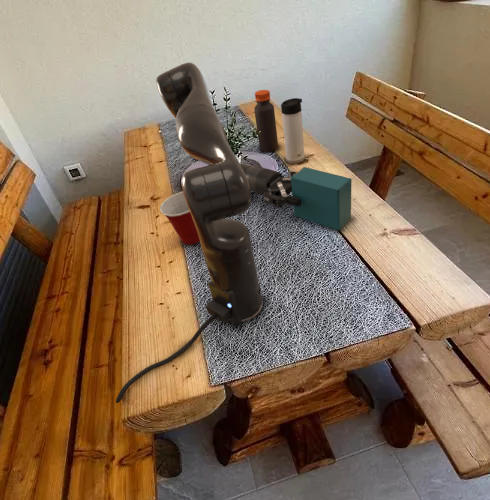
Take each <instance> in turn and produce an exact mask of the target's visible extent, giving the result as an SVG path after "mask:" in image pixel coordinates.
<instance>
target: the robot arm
mask: <svg viewBox="0 0 490 500" xmlns="http://www.w3.org/2000/svg"><path fill="white" fill-rule="evenodd" d="M155 81H156V82H155V83H156V88H157V89H158V93H159V95H160V97H161V100H162V101H163V103H164V105H165V106H166V108H167V109H168V111H170V114H171V115H172V116H173V118H175V129H176V134H177V137H178V141H179V144H180V146H181V148H182V149H183V150H184V152H185V153H187V154H188V156H190V157H192V158H194V159H195V160H197V161H199V162H201V163H203V164H205V165H204V166H201V167H197V168H196V167H195V168H193V169H189V170H187V171H185V172H184V173H183V175H182V178H181V187H182V192H183V193H184V197H185V200H186V203H187V206H188V208H189V211H190V213H191V216H192V219H193V221H194V224H195V227H196V230H197V233H198V236H199V240H200V241H199V244H200V247H201V250H202V253H203V257H204V260H205V264H206V267H207V270H208V274H209V277H210V280H209V281H208V282H207V285H208V289H209V291H210V292H209V293H210V294H211V298H212V299H211V301H209V302H208V303H207V304H206V305H205V308H206V311H207V314H209V315H210V316H209V317H208V318H207V320H205V322H203V323H202V324H201V326H200V327H199V328H198V329H197V330H196V332H195V333H194V335H193V336H192V338H191V339H190V340H188V342H187V343H186V344H185V345H183V346H182V347H181V348H180V349H179V350H177V351H176V352H174V353H173V354H171V355H170V356H168V357H167V358H164V359H162V360H160V361H157V362H155V363H152V364H151V365H148V366H147V367H145V368H144V369H142V370H141V371H139V372H137V373H136V374H135V375H134V376H133V377H131V378H130V379H129V380H128V381H127V382H126V383H125V384H124V385H123V386H122V388H121V389H120V391H119V392H118V394H117V396H116V399H115V403H116V404H119V403H121V402H122V400H123V397H124V395H125V393H126V392H127V390H128V389H130V387H131V386H132V385H133V384H134V383H135V382H137V381H138V380H140V379H141V378H142V377H143V376H144V375H146V374H147V373H149V372H151V371H153V370H155V369H157V368H160V367H162V366H164V365H166V364H168V363H171V362H173V360H175V359H176V358H178V357H179V356H181V355H182V354H184V353H185V352H186V351H187V350H188V349H190V347H191V346H192V345H193V344H194V343H195V342H196V341H197V340H198V338H199V337H200V335H201V334H202V332H204V330H206V328H207V327H208V326H209V325H210V324H211V323H212V322H213V321H214V320H215V319H217V320H219V321H220V322H222V323H224V324H226V323H228V322H230V323H232V324H233V325H235V326H240V325H241V324H242V323H246V322H249V321H251V320H253V319H255V318H257V317H258V316H259V314H260V313H261V311H262V310H263V307H264V299H263V296H262V294H263V293H262V292H263V291H262V289H261V286H260V283H259V277H258V271H257V266H256V261H255V257H254V250H253V246H252V240H251V235H250V231H249V229H248V227H247V225H246V224H244V223H243V222H241V221H239V220H237V219H231V217H235V216H239V215H241V214H244V213H246V212H247V211H249V209H250V207H251V206H252V201H253V199H252V197H253V196H252V193H255V194H257V195H261V196H263V199H264V203H266V204H270V205H271V206H275V207H277V208H282V207H283V206H285V205H290V206H293V207H294V206H298V207H300V206H301V199H300V198H297V197H293V195H290V194H292V185H291V177H292V176H293V175H294V174H296V173H297V172H298V171H290V175H289V176H283V175H282V174H281V172H279V171H277V170H273V169H270V168H266V167H262V166H257V165H251V164H247V163H244V162H240V161H239V160H238V158H237V156H236V154H235V153H234V151H233V149H232V147H231V145H230V143H229V140H228V138H227V135H226V132H225V129H224V126H223V123H222V122H221V119H220V116H219V115H218V112H217V110H216V109H215V107H214V104H213V102H212V99H211V97H210V93H209V90H208V86H207V83H206V80H205V78H204V76H203V73H202V72H201V70H200V69H199V67H198V66H197V65H196V64H195V63H193V62H184V63H181V64H180V65H177V66H175V67H173V68H170V69H168V70H166V71H164V72H162V73H161V74H159V75H158V76H157V77H156V79H155Z"/></svg>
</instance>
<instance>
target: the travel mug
mask: <svg viewBox="0 0 490 500" xmlns="http://www.w3.org/2000/svg"><path fill="white" fill-rule="evenodd" d="M302 103H303V99H302V98H298V97H294V98H289V99H285V100H284V101H282V103H281V104H280V109H281V113H280V114H281V119H282V120H281V121H282V133H283V141H284V151H285V161H286V162H287V163H288V164H293V165H294V164H300V163H303V162H304V161H305V159H306V157H305V141H304V127H303V111H302Z"/></svg>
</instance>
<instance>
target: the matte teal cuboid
mask: <svg viewBox="0 0 490 500" xmlns="http://www.w3.org/2000/svg"><path fill="white" fill-rule="evenodd" d="M296 172H297V173H296V174H294V175H293V176H292V177H291V185H292V192H291V194H292V195H291V196H293V197H297V198H300V199H301V206H300V207H298V206H293V215H294V216H295V217H297V218H300V219H303V220H307V221H309V222H312V223H315V224H318V225H322V226H324V227H327V228H329V229H333V230H336V231H340V230H342V229H343V228H344V226H345V225H346V224H348V222H349V221H350V220H351V219H352V178H350V177H346V176H342V175H338V174H334V173H330V172H326V171H322V170H318V169H314V168H310V167H306V166H303V167H301V168H300V169H299V170H298V171H296Z"/></svg>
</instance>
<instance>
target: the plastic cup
mask: <svg viewBox="0 0 490 500" xmlns="http://www.w3.org/2000/svg"><path fill="white" fill-rule="evenodd" d="M159 210H160V213H161V214H162V215H163V216H165V217H166V218H167V220H168V221H169V223H170V224H171V226H172V227H173V230H174V231H175V233H176V234H177V235H178V237H179V239H180V240H181V242H182V243H183V244H185V245H188V246H190V245H191V246H193V245H195V244H196V245H197V244H198V243H200V240H199V236H198V233H197V230H196V227H195V224H194V221H193V219H192V216H191V213H190V211H189V208H188V206H187V203H186V200H185V197H184V193H183V191H180V192H177V193H174V194H172V195H170V196H168V197H167V198H166V199H165V200H164V201H163V202H162V203H161V205H160V206H159Z"/></svg>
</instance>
